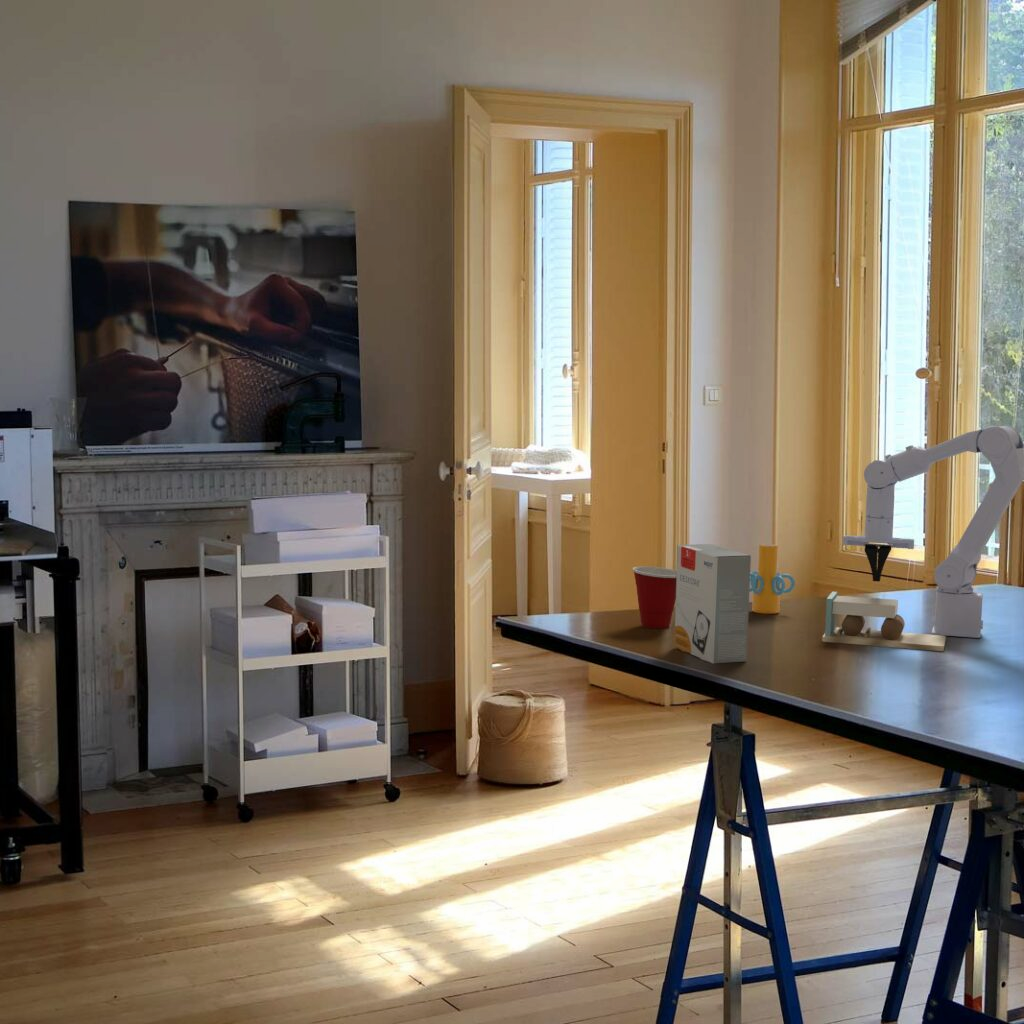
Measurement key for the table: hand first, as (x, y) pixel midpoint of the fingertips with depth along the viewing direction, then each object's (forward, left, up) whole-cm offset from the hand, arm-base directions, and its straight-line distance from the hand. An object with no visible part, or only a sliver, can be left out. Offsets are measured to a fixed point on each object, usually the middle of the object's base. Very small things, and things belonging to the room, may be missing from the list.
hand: (876, 580), depth 301 cm
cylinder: (+24, -6, -10) cm, 27 cm away
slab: (+1, +19, -4) cm, 19 cm away
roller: (+3, +19, -8) cm, 21 cm away
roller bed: (-4, +19, -9) cm, 21 cm away
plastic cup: (+42, +23, -10) cm, 49 cm away
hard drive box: (+26, +48, -10) cm, 55 cm away
